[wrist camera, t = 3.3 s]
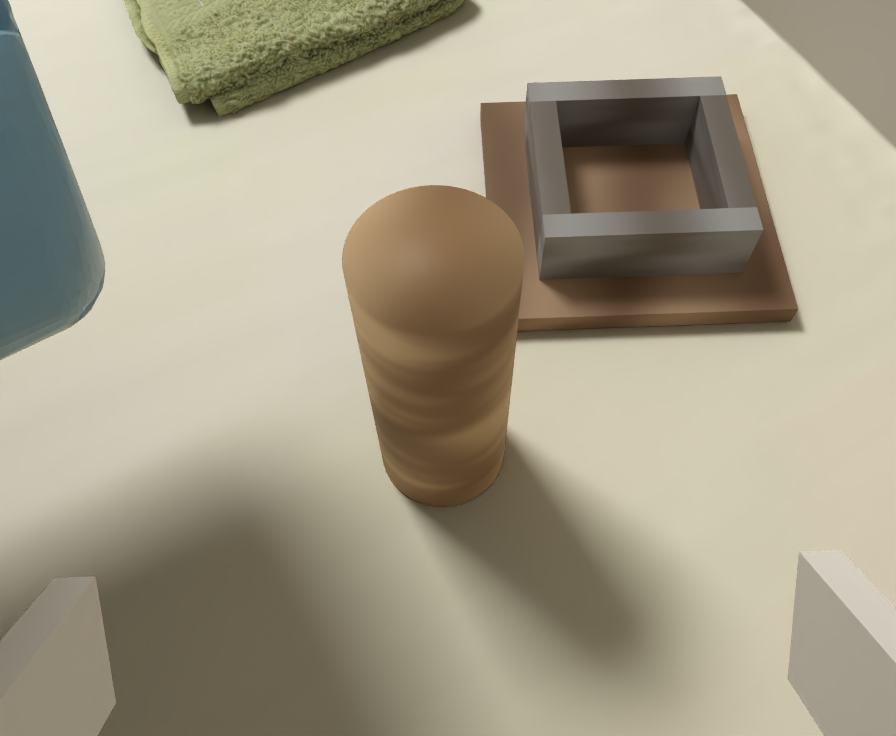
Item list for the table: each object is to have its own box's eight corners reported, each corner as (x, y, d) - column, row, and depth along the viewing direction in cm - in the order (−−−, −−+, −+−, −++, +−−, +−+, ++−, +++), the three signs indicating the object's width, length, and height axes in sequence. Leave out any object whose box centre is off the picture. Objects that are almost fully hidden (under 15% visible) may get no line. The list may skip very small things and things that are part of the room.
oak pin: (381, 509, 33) (339, 335, 22) (382, 396, 35) (344, 188, 24) (508, 504, 33) (532, 329, 22) (500, 392, 35) (517, 182, 24)
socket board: (495, 331, 37) (499, 279, 33) (480, 117, 43) (482, 54, 40) (789, 321, 37) (824, 267, 34) (731, 109, 43) (755, 45, 40)
